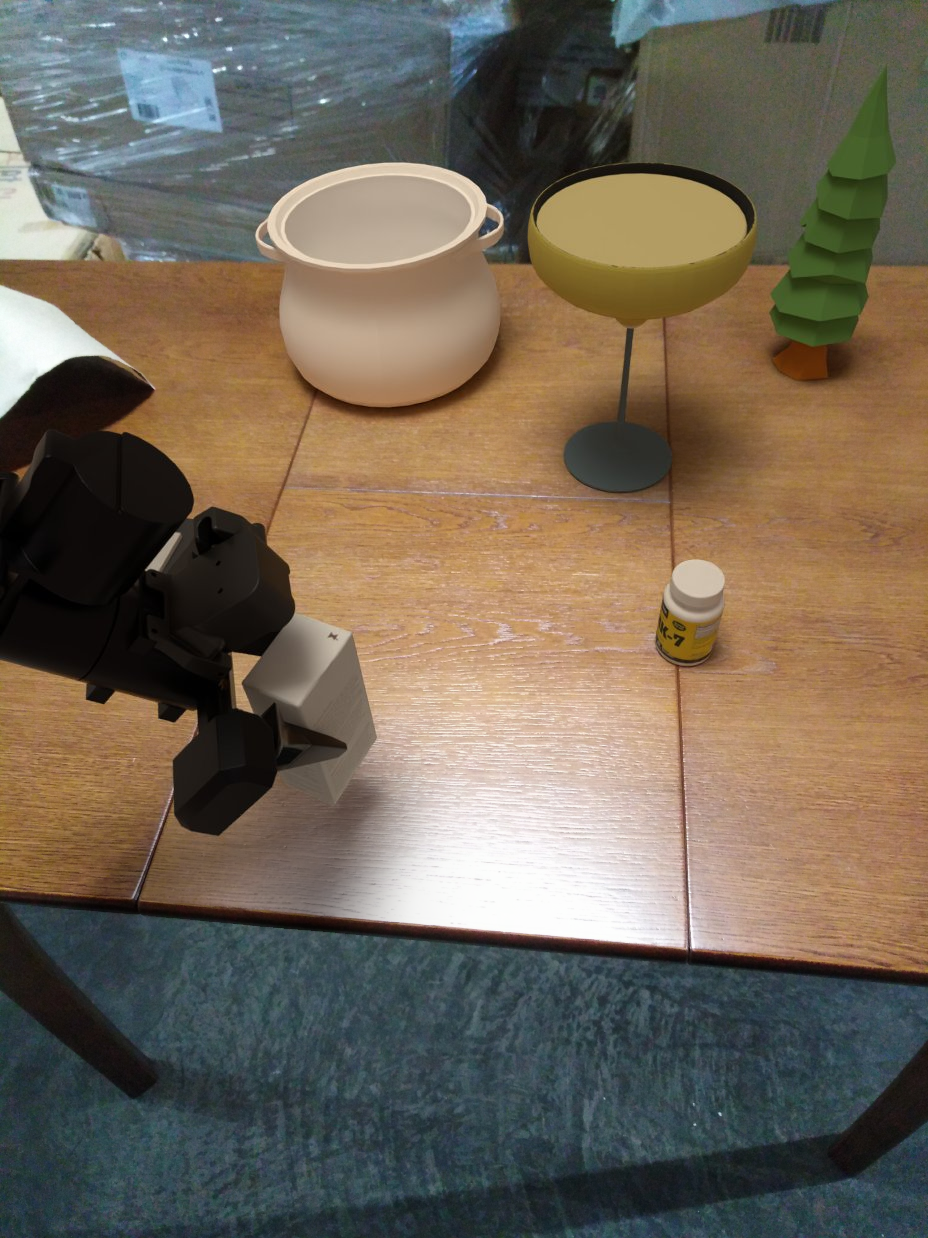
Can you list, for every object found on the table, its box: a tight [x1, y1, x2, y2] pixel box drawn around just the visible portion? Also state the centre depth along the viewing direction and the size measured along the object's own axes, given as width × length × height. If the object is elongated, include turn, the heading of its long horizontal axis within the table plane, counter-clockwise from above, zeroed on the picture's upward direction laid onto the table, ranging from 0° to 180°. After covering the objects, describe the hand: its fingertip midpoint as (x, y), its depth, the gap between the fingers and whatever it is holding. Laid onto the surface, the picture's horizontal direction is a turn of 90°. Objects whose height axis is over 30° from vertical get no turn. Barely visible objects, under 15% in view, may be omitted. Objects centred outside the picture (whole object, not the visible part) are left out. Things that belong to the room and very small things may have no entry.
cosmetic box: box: [241, 612, 378, 807], centre depth 57 cm, size 6×4×12 cm
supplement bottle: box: [654, 558, 726, 667], centre depth 71 cm, size 5×5×8 cm
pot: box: [254, 162, 505, 408], centre depth 97 cm, size 26×24×17 cm
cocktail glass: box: [527, 161, 758, 493], centre depth 80 cm, size 18×18×25 cm
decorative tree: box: [769, 63, 897, 381], centre depth 87 cm, size 10×9×30 cm
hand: (335, 703), depth 56 cm, fingers closed on cosmetic box, 7 cm apart
